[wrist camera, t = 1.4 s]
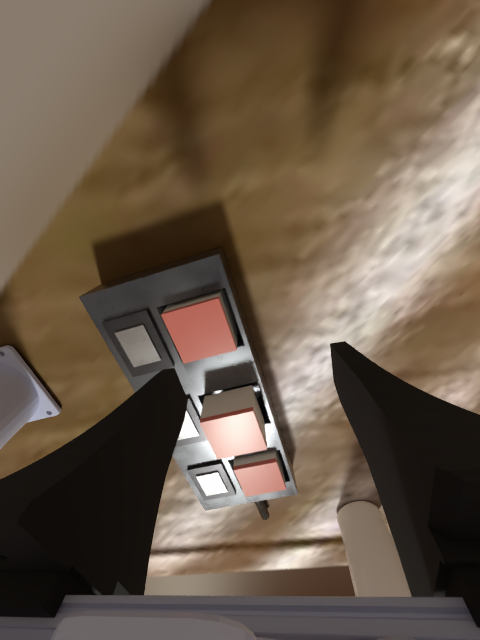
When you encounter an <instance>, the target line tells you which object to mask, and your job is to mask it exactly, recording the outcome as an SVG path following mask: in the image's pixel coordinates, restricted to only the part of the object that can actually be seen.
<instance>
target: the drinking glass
mask: <svg viewBox="0 0 480 640" xmlns="http://www.w3.org/2000/svg"><path fill="white" fill-rule="evenodd" d="M337 521H338V525H339V528H340V532H341V535H342V539H343V543H344V547H345V552H346V556H347V560H348V564H349V569H350V573H351V578H352V582H353V586H354V590H355V595H356V597H412V596H411V593H410V590H409V587H408V583H407V580H406V577H405V574H404V571H403V568H402V564H401V561H400V558H399V555H398V552H397V549H396V545H395V542H394V539H393V536H392V534H391V532H390V530H389V528H388V526H387V524H386V522H385V520H384V518H383V515H382V513H381V511H380V510H379V508H378V507H377V506H376V505H374V504H372V503H370V502H366V501H355V502H351V503H348V504H346V505H344V506H343V507H342V508H341V509H340V510H339V512H338V514H337Z"/></svg>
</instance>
